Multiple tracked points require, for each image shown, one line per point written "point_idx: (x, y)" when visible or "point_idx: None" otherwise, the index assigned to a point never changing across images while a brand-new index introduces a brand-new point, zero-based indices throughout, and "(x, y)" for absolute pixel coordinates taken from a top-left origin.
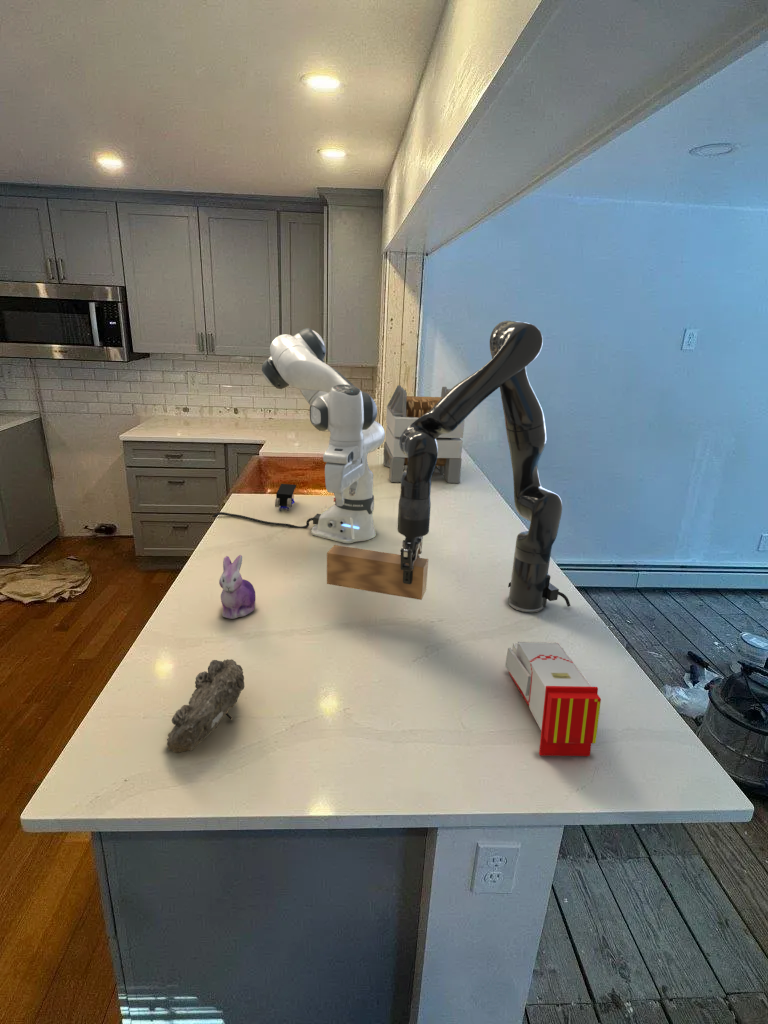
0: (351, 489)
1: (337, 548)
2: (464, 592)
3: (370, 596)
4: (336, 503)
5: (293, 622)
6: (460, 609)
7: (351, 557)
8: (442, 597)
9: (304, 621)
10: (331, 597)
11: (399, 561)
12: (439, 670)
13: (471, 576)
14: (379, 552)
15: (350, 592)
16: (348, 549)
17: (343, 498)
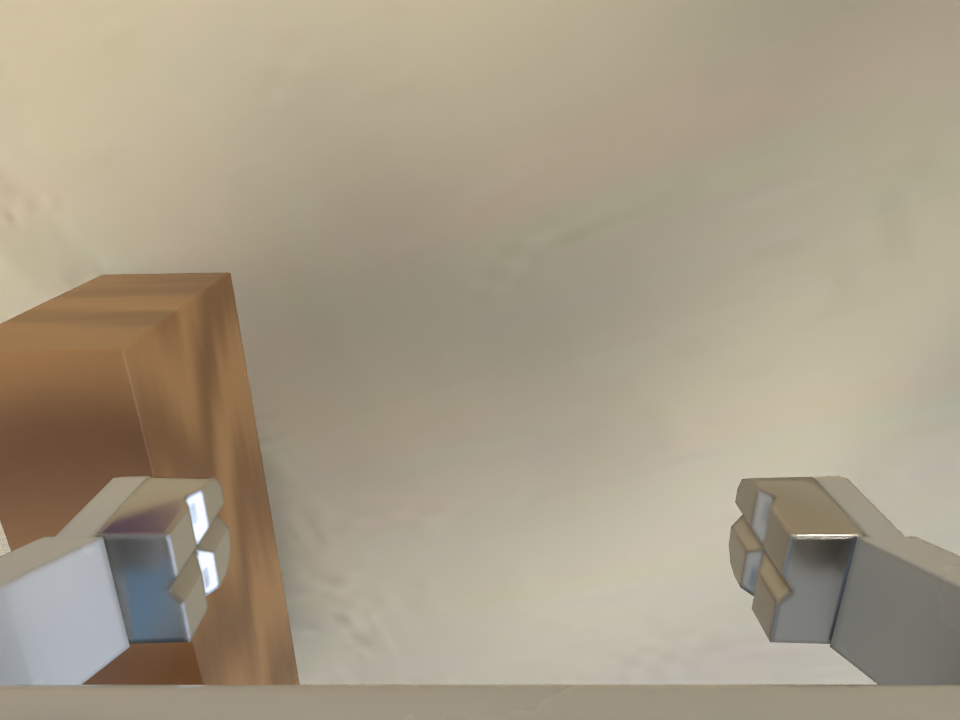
0: (794, 582)
1: (68, 399)
2: (615, 676)
3: (437, 365)
4: (101, 496)
5: (28, 109)
6: (474, 681)
7: (8, 532)
8: (544, 618)
9: (68, 159)
10: (346, 191)
11: None
12: None
13: (769, 680)
14: (185, 667)
15: (437, 264)
16: (104, 479)
17: (179, 629)
